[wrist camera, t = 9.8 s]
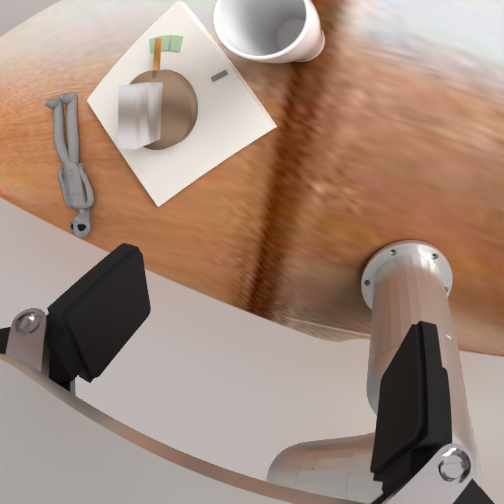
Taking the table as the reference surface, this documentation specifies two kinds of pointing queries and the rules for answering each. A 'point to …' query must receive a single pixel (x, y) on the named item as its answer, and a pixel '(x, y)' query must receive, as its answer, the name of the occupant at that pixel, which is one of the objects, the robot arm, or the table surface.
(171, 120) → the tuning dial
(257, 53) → the white cup
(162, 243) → the table surface
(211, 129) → the white square board
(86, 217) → the alien figure
